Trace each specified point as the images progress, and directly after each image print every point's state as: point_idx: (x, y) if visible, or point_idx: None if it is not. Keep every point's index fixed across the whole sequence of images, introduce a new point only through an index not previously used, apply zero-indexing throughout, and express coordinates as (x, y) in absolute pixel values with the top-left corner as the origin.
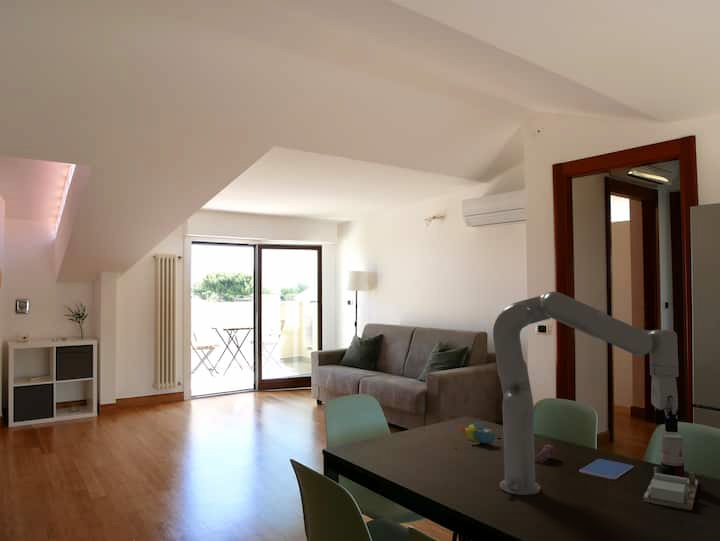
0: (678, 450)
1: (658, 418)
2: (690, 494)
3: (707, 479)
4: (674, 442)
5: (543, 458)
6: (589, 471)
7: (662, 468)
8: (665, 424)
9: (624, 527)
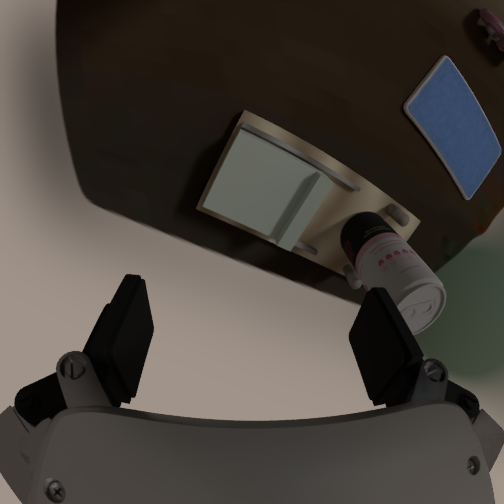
0: None
1: (377, 328)
2: None
3: None
4: None
5: (483, 18)
6: (441, 72)
7: (378, 225)
8: (108, 306)
9: (81, 44)
